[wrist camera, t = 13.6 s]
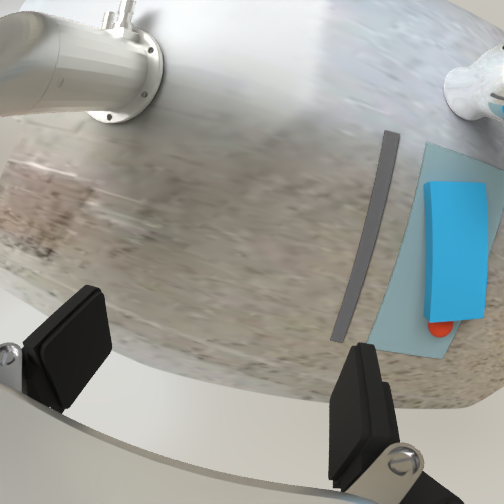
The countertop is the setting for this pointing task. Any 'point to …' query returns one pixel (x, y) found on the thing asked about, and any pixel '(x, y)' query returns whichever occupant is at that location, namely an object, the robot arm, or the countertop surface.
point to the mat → (414, 257)
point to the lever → (455, 253)
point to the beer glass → (478, 87)
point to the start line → (368, 233)
